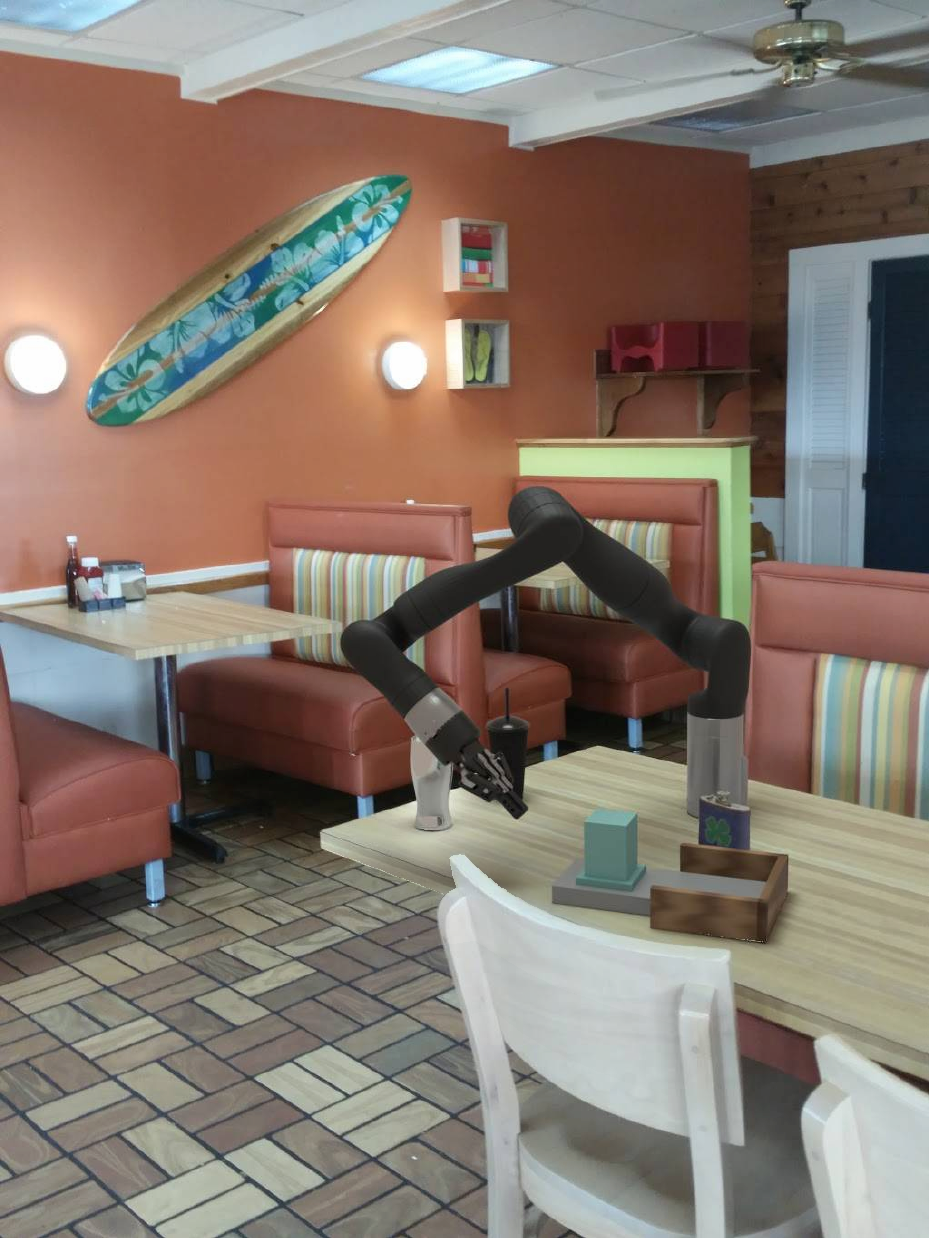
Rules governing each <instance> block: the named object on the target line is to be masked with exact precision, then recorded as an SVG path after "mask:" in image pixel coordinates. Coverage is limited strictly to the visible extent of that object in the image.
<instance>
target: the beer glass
mask: <svg viewBox="0 0 929 1238" xmlns="http://www.w3.org/2000/svg"><path fill="white" fill-rule="evenodd" d="M453 766H454V764H453V763H451V764H449V765H447V766H444V765H442V764H441V763H440V761H439V760H438V759H437V758H436V757H435V756H434V755H433V754H432V753H431V751H430V750H429V749H428V748H427V747H426V746H425V745H424V744H423V743H422V741H421V740H420V739H419V738H418V737H417V736H416V735H415V734H414V735H413V736H412V737H411V738H410V773H411V779H412V785H413V788H414V793H415V797H416V798H415V799H416V815H415V823H414V826H415V828H416V829H418V828H419V829H418V830H420V829H427V830H440V831H443V830H444V829H445V830H447V829H449V828H450V827H452V824H453V822H452V817H451V816H452V815H451V813H450V812H451V811H450V801H449V800H450V793H451V786H452V779H453V771H454V767H453Z"/></svg>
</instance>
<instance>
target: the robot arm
mask: <svg viewBox="0 0 929 1238" xmlns="http://www.w3.org/2000/svg"><path fill="white" fill-rule="evenodd" d="M507 521H508V526H509V528H510V530H511V533H512V535H513V536H514V538H515V540H513V541H512V542H511V543H510V544H509V545H508V546H506V547H505V548H503V549H502V550H500V551H498V552H497V553H494V554H493V555H491V556H488V557H485V558H482V559H478V560H476V561H472V562H468V563H463V564H458V565H453V566H450V567H446V568H443V569H441V570H439V571H436V572H434V573H433V574H430V575H428V576H427V577H426V578H424V579H422V580H421V581H420V582H418V583H416V584H415V585H413V586H412V587H410V588H409V589H407V590H406V591H404V592H403V593H402V594H401V595H399V596H398V597H397V598H396V599H395V600H394V602H393V604H392V606H390V607H389V608H388V609H386V610H385V611H383V612H382V613H380V614H379V615H378V616H376V617H374V618H373V619H372V620H370V619H359V620H355V621H353V622H351V623H349V624H348V625H347V626H346V627H345V628H344V629H343V631H342V632H341V635H340V640H339V641H340V642H339V644H340V651H341V653H342V655H343V657H344V658H345V661H347V662H348V663H349V665H350V666H351V667H352V668H353V669H354V670H355V671H356V672H357V673H358V674H359V675H360V676H361V677H363V678H364V679H365V680H366V681H367V682H368V683H369V684H370V685H371V686H373V687H374V688H375V689H376V690H377V691H378V692H379V693H381V695H382V696H383V697H384V698H385V699H386V701H387V702H388V704H389V705H390V706H391V707H392V709H394V710H395V711H396V712H397V714H399V716H400V717H401V718H402V719H403V720H404V722H406V724H407V725H408V727H409V728H410V731H412V733H413V734H414V736H415V735H416V736H417V737H418V738H419V739H420V740H421V741H422V743H423V744H424V745H425V746H426V747H427V748H428V749H429V750H430V751H431V753H432V754H433V755H434V756H435V757H436V758H437V759H438V760H439V761H440V763H441V764H442V765H444V766H447V765H449V764H451V763H453V766H454V767H455V769H456V771H457V772H458V773H459V774H460V775H461V779H460V781H458V783H457V785H458V787H460V788H461V789H463V790H465V791H466V792H468V793H470V794H472V795H474V796H476V797H478V798H480V799H481V800H483V801H485V802H487V803H491V802H492V801H494V803H499V804H501V806H502V807H503V808H504V809H505V810H506V812H507V813H508V814H509V815H510V816H511V817H512V818H513V819H514V820H519V819H520V818H521V817H523V816H524V815H525V814H526V813H527V812H528V811H529V806H528V805H527V803H525V801H524V800H521V798H520V797H519V796H518V795H517V794H516V793H515V792H514V791H513V790H512V788H513V786H512V783H513V782H514V778H513V776H512V773H511V771H510V769H509V766H508V764H507V761H506V759H505V757H504V755H503V753H502V752H500V751H499V752H498V753H497V754H496V755H494V754H491V753H490V749H488V747H486V746H485V745H484V744H483V743H481V742H480V741H479V738H480V737H481V736H482V730H481V728H480V727H478V725H477V724H476V723H475V722H474V720H472V718H470V716H469V715H468V714H466V712H465V711H464V710H463V709H462V708H461V706H459V705H458V704H457V702H456V701H455V700H454V699H453V698H452V697H451V696H450V695H449V694H447V692H445V691H444V690H443V689H442V688H441V687H440V686H439V685H438V684H437V683H436V682H435V681H434V680H433V679H432V677H430V675H428V673H427V672H426V671H425V670H424V669H423V668H422V667H421V666H420V665H418V664H416V663H415V662H413V661H412V660H410V659H409V658H408V657H407V656H406V655H405V653H404V652H405V651H406V650H408V649H409V648H410V647H411V646H413V645H414V644H415V643H416V642H417V641H418V640H419V639H421V638H422V637H424V636H425V635H427V634H429V633H431V632H433V631H434V630H436V629H438V628H439V627H440V626H442V625H443V624H445V623H446V622H448V621H449V620H451V619H452V618H454V617H456V616H457V615H458V614H460V613H462V612H463V611H465V610H466V609H468V608H470V607H471V606H474V605H475V604H477V603H479V602H480V601H482V600H485V599H486V598H490V597H491V596H492V595H495V594H498V593H499V592H501V591H504V590H506V589H508V588H510V587H512V586H514V585H517V584H519V583H521V582H523V581H525V580H527V579H529V578H532V577H534V576H536V575H538V574H541V573H543V572H545V571H548V570H549V569H551V568H553V567H555V566H557V565H560V564H561V563H564V564H565V565H566V566H567V567H568V568H569V569H570V570H571V572H573V574H575V576H576V577H577V578H578V579H579V580H580V582H581V583H583V584H584V585H585V587H586V588H587V589H588V590H589V591H590V592H591V593H592V594H593V595H594V596H596V597H597V598H598V600H600V601H601V602H602V603H603V604H604V605H605V606H607V607H608V608H609V609H611V610H613V611H614V612H615V613H616V614H618V615H620V616H621V617H623V618H624V619H626V620H627V621H629V622H631V623H632V624H634V625H635V626H636V627H638V628H640V629H642V630H643V631H645V632H647V633H649V634H650V635H652V636H654V637H655V638H656V639H657V640H659V641H660V642H661V643H662V644H663V645H664V646H665V647H666V648H668V650H669V651H670V652H672V653H673V654H674V655H675V656H676V657H677V658H678V659H679V660H680V661H681V662H683V663H684V664H685V665H687V666H688V667H690V668H692V669H694V670H698V671H702V672H707V673H708V676H707V677H708V679H707V685H706V686H707V687H706V688H705V689H703V690H699V691H694V692H692V693H691V694H689V696H688V698H687V702H686V704H687V705H686V706H687V707H686V709H687V714H686V715H687V716H686V717H687V719H686V720H687V721H686V722H687V723H686V724H687V725H686V726H687V727H686V728H687V729H686V731H687V732H686V734H687V735H686V736H687V737H686V738H687V739H686V746H687V747H686V751H687V752H686V775H687V776H686V812H687V811H688V812H687V813H688V814H689V813H690V814H689V815H691V816H693V817H695V818H698V819H699V799H700V797H702V796H710V795H712V794H713V795H714V796H715V797H720V795H718V794H717V792H720V791H723V792H725V793H727V792H726V791H728V792H729V793H730V795H729V796H728V798H729V799H728V802H730V803H734V804H738V805H742V806H748V807H749V805H748V801H749V800H748V799H749V798H748V793H749V759H748V757H747V756H746V755H744V720H745V719H744V717H745V716H744V714H745V703H746V701H747V699H748V694H749V690H750V689H749V688H750V674H751V661H752V659H751V658H752V642H751V641H752V640H751V637H750V633H749V630H748V628H747V627H746V625H745V624H744V623H742V622H740V621H739V620H735V619H731V618H724V617H718V616H714V615H707V614H703V613H701V612H699V611H696V610H694V609H692V608H690V607H689V606H687V605H686V604H684V603H683V602H681V601H680V600H679V599H677V598H676V596H675V595H674V592H673V588H672V585H671V584H670V581H669V580H668V578H667V577H666V576H665V574H663V572H662V571H661V570H659V569H658V568H656V567H655V566H654V565H653V564H652V563H650V562H648V560H646V559H645V558H643V557H642V556H640V555H639V554H637V553H635V551H633V550H631V549H630V548H629V547H627V546H626V545H624V544H623V543H621V542H620V541H618V540H617V539H615V538H614V537H612V536H611V535H609V534H607V533H605V532H604V531H602V530H600V529H599V528H597V527H596V526H595V525H594V524H592V523H591V522H590V521H589V520H587V518H586V517H584V516H583V514H581V513H580V512H579V511H578V510H577V509H576V508H575V507H574V506H573V505H572V504H571V503H569V501H568V500H567V499H566V498H565V497H564V496H563V495H562V494H561V493H560V492H558V491H557V490H555V489H553V488H550V487H548V486H540V485H536V486H528V487H525V488H523V489H521V490H519V491H518V492H517V493H515V494H514V496H513V497H512V499H511V500H510V502H509V505H508V509H507ZM504 775H505V776H504Z"/></svg>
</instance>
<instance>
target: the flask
mask: <svg viewBox="0 0 929 1238" xmlns="http://www.w3.org/2000/svg"><path fill="white" fill-rule="evenodd" d="M726 792H727V793H725V792H723V791H720V792H717V794H718V795H720V797H715V796H714V795H713V794H712V795H710V796H702V797H700V799H699V818H698V839H697V840H698V841H697V842H698V844H699V845H707V846H716V847H725V848H734V849H743V850H751V816H752V810H751V807H750V806H749V805H748V806H742V805H738V804H734V803H730V802H728V799H729V798H728V796H729V795H730V793H729V792H728V791H726Z"/></svg>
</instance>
